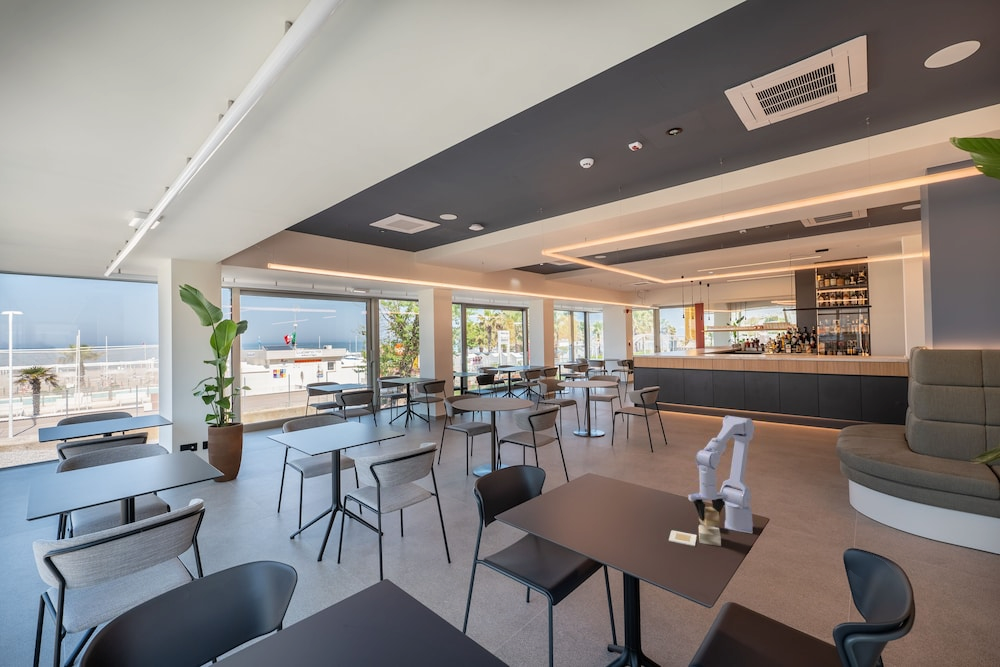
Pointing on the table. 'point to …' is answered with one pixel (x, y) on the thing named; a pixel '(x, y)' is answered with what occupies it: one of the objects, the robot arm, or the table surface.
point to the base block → (709, 535)
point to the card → (682, 538)
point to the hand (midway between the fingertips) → (708, 519)
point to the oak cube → (710, 517)
